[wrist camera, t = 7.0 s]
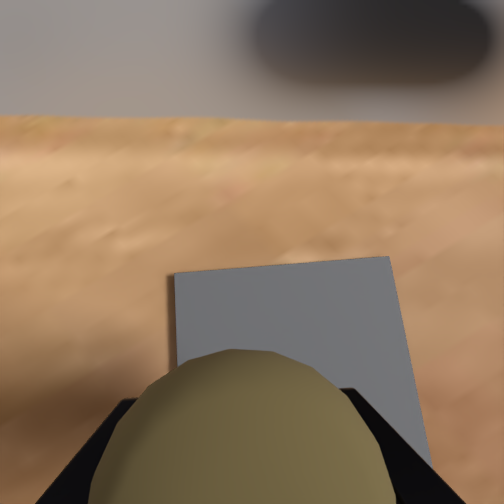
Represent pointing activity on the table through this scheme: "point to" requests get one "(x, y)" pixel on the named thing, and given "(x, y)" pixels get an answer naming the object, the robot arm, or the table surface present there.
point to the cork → (242, 439)
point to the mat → (310, 327)
